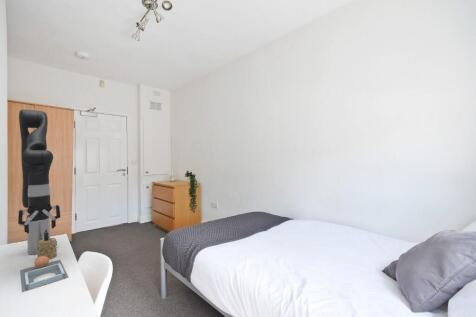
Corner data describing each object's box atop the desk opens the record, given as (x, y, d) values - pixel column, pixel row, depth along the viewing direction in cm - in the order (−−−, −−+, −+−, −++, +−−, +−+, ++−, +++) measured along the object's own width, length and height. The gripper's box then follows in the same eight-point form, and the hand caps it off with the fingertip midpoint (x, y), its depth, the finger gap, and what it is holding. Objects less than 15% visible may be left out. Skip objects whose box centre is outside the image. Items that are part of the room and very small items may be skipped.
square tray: (24, 277, 95) (24, 272, 95) (60, 267, 103) (59, 262, 103) (26, 290, 85) (26, 285, 85) (65, 278, 93) (64, 273, 93)
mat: (20, 271, 101) (20, 270, 101) (60, 260, 111) (60, 259, 111) (22, 293, 84) (21, 292, 84) (68, 278, 94) (68, 277, 94)
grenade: (45, 262, 110) (44, 231, 109) (33, 261, 111) (32, 230, 111) (60, 255, 117) (59, 226, 117) (49, 255, 118) (48, 226, 118)
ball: (34, 267, 103) (33, 256, 103) (48, 263, 107) (48, 253, 107) (34, 271, 100) (34, 260, 100) (49, 267, 103) (49, 256, 103)
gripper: (58, 191, 111) (59, 225, 111) (17, 195, 101) (18, 232, 101) (60, 193, 105) (61, 228, 105) (17, 197, 95) (18, 236, 95)
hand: (40, 230), depth 103 cm, fingers open, 8 cm apart
